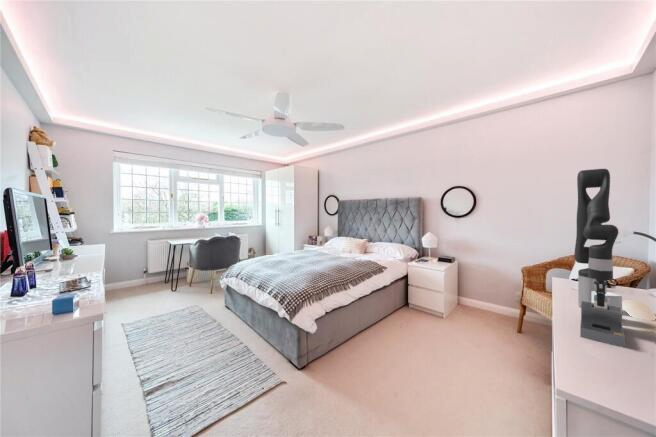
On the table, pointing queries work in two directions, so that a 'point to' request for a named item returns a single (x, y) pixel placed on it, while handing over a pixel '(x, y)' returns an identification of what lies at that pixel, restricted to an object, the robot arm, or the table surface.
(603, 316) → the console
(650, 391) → the table surface
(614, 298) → the supplement box
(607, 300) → the plug
